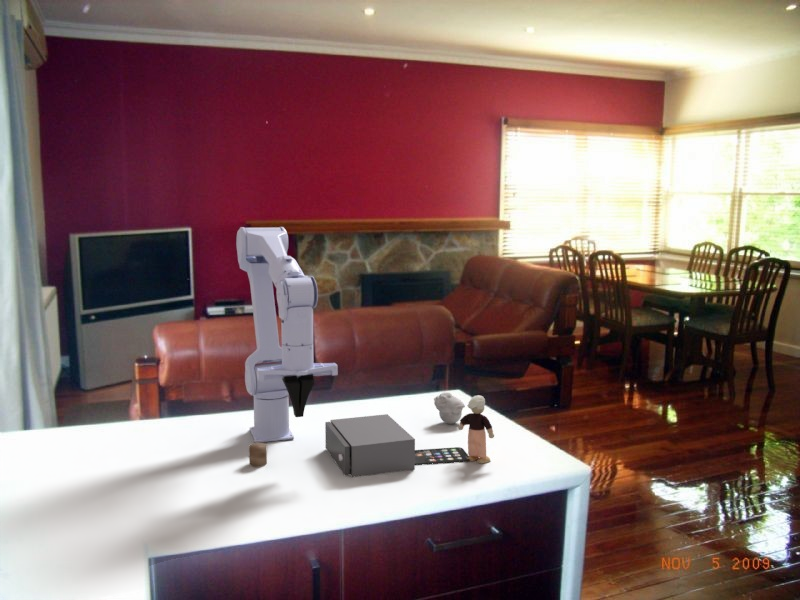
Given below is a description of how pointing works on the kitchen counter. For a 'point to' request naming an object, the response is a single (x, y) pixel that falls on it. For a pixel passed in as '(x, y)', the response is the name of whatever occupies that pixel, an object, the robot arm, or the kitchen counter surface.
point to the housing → (376, 445)
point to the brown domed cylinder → (258, 454)
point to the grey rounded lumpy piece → (449, 407)
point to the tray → (338, 448)
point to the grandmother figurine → (477, 430)
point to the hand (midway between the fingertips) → (298, 415)
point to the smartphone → (440, 456)
